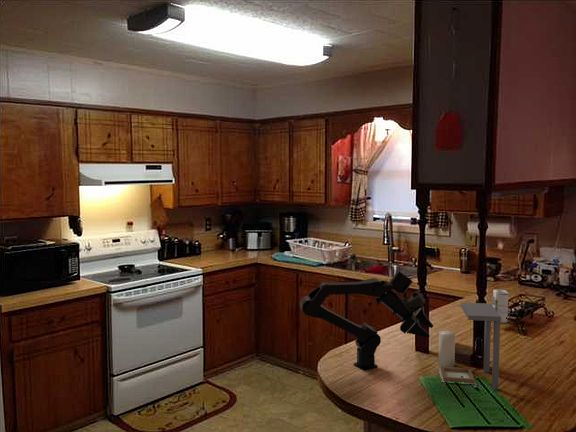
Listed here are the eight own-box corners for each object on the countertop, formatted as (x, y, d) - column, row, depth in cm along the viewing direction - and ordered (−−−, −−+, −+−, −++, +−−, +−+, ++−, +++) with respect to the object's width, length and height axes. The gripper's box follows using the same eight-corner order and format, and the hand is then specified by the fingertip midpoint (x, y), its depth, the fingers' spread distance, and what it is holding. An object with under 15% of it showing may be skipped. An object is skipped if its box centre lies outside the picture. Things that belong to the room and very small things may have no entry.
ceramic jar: (435, 363, 190) (435, 332, 189) (446, 360, 193) (446, 329, 192) (446, 368, 185) (447, 336, 184) (457, 365, 188) (458, 333, 187)
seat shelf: (443, 386, 170) (444, 314, 168) (438, 367, 186) (439, 301, 184) (498, 390, 167) (501, 316, 165) (488, 370, 183) (490, 303, 180)
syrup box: (491, 319, 244) (492, 289, 243) (504, 319, 243) (505, 289, 242) (494, 322, 238) (495, 292, 237) (508, 323, 238) (508, 292, 236)
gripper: (404, 296, 175) (442, 326, 172) (413, 280, 192) (448, 307, 188) (385, 318, 179) (421, 348, 176) (395, 301, 196) (429, 327, 193)
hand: (430, 331), depth 183 cm, fingers open, 9 cm apart
